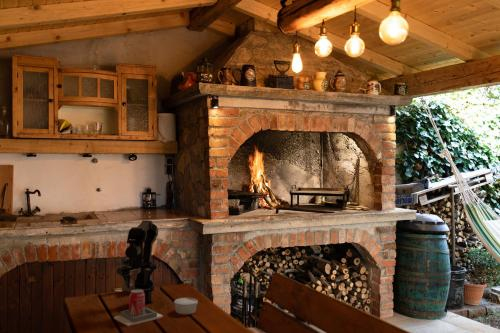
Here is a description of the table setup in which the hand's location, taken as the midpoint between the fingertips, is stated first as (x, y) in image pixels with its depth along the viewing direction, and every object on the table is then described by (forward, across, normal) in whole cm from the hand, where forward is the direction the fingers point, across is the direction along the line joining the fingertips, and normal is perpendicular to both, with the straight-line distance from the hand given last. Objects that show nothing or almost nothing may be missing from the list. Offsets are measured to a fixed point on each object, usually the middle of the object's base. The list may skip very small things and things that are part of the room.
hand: (136, 286), depth 219 cm
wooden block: (+14, -16, -33) cm, 39 cm away
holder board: (+12, +3, +7) cm, 15 cm away
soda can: (+12, +4, +7) cm, 15 cm away
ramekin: (+13, -19, +14) cm, 27 cm away
